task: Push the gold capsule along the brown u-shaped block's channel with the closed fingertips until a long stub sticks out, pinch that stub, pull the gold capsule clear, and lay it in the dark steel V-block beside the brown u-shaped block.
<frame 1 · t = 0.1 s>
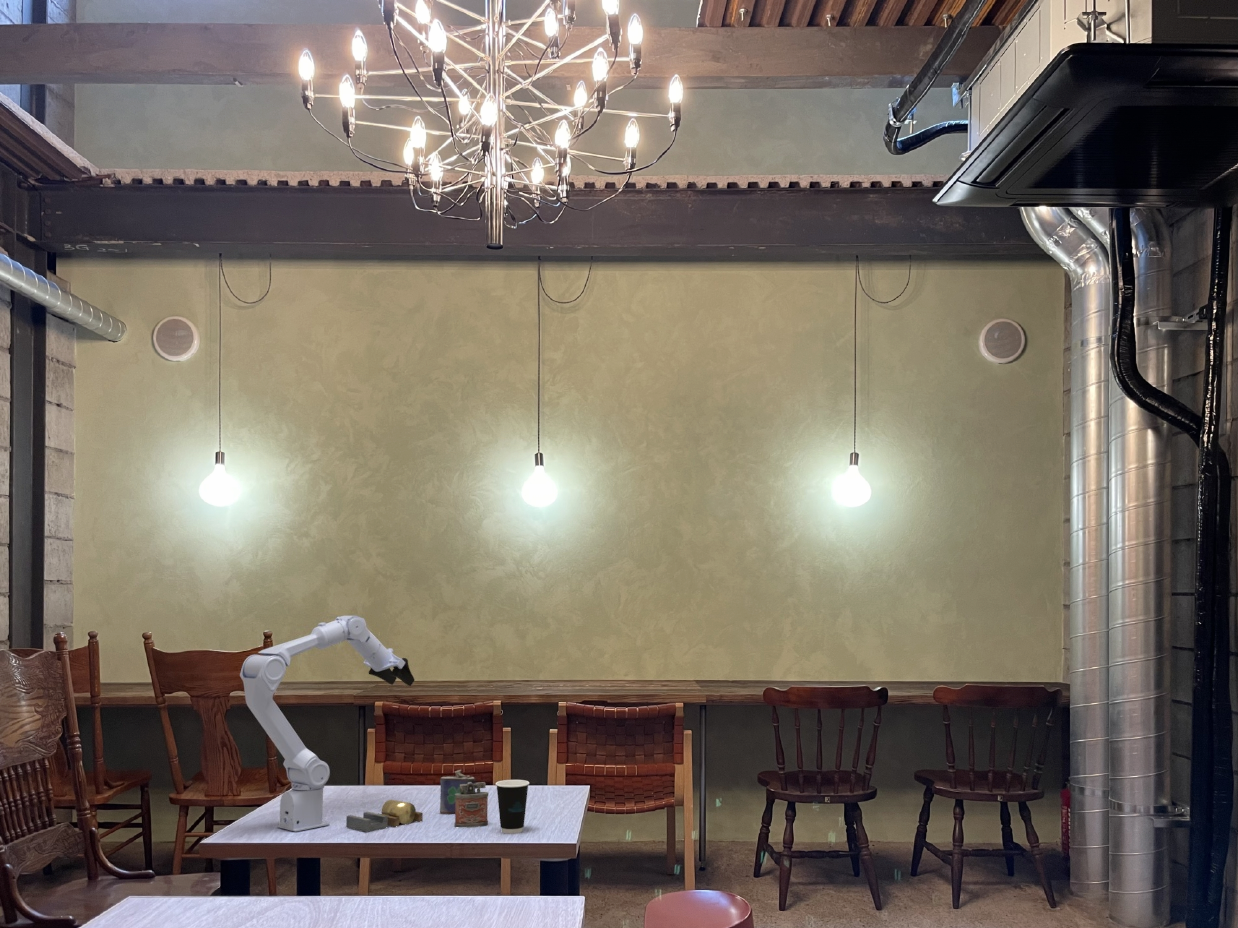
hand: (402, 682, 267), 32 cm above the table, tool tilted 50°, fingers open, 7 cm apart
flask: (457, 814, 254), on the table
dixie cup: (512, 831, 234), on the table
gold capsule: (398, 822, 245), on the table
lighter: (471, 826, 241), on the table
brown u-shaped block: (398, 821, 245), on the table
v block: (366, 827, 239), on the table
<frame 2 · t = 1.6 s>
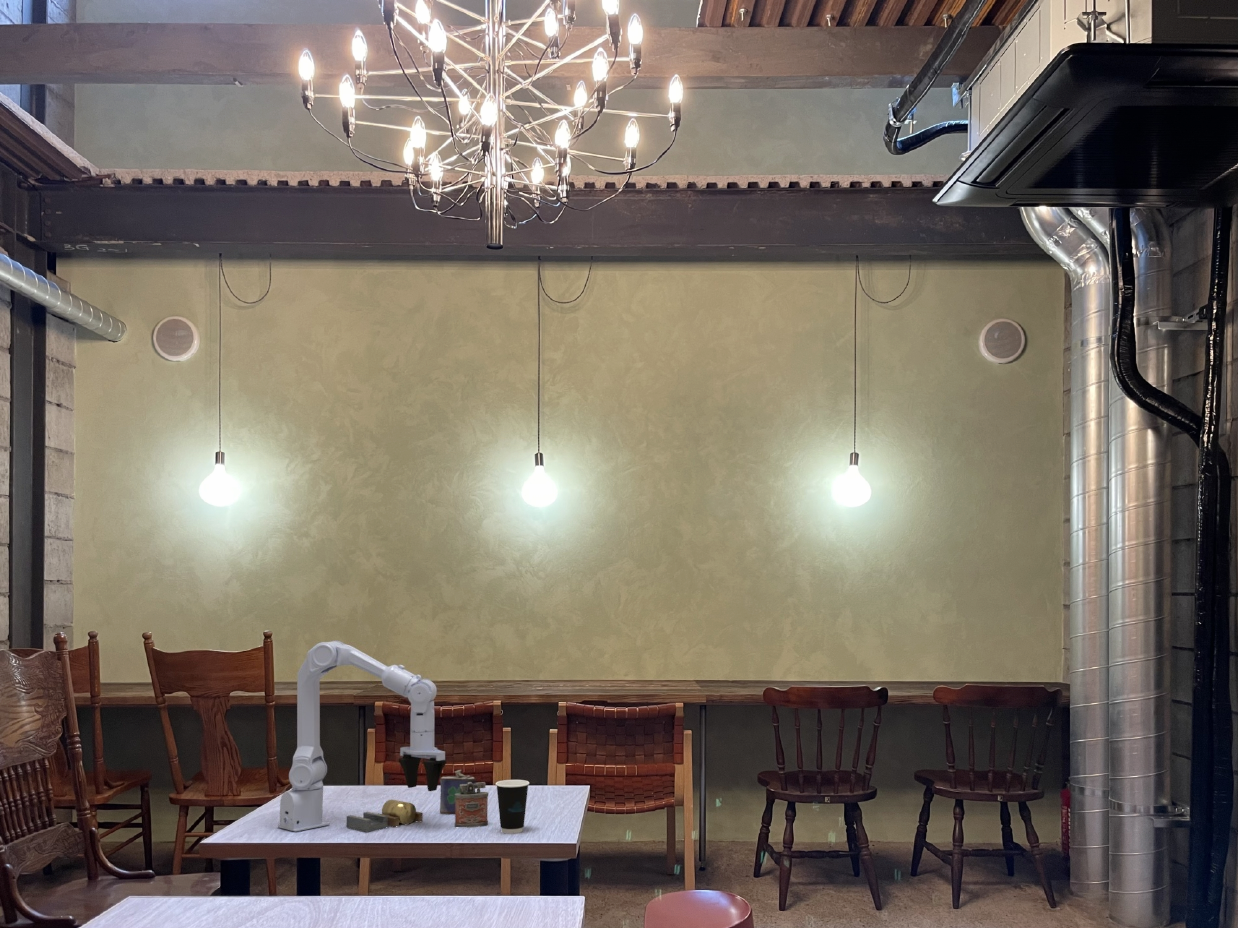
hand: (422, 788, 241), 9 cm above the table, tool pointing down, fingers open, 7 cm apart
nothing on the table moved.
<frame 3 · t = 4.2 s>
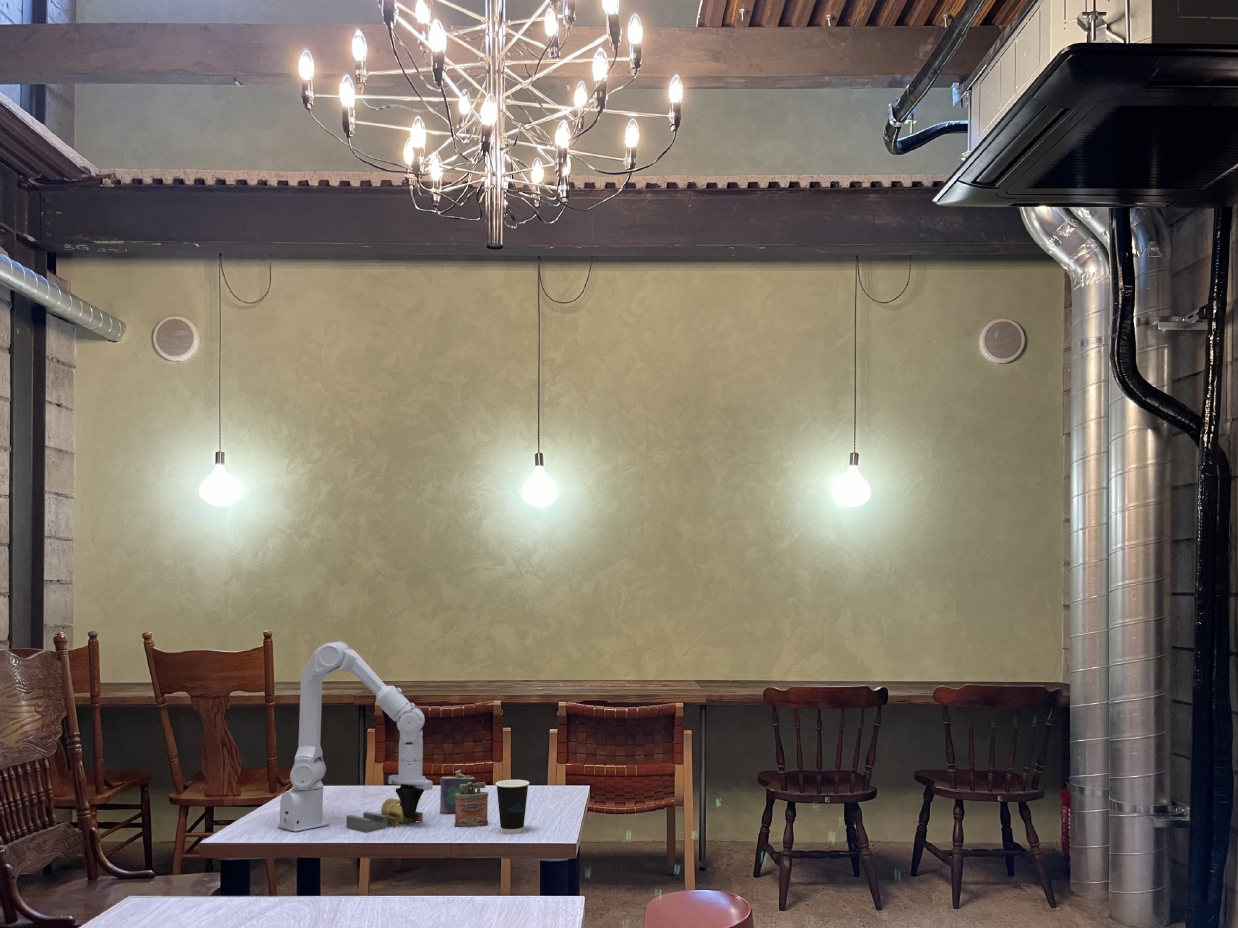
hand: (409, 817, 243), 2 cm above the table, tool pointing down, fingers closed
gold capsule: (396, 821, 246), on the table, tilted 12°, touching gripper
everything else where it was.
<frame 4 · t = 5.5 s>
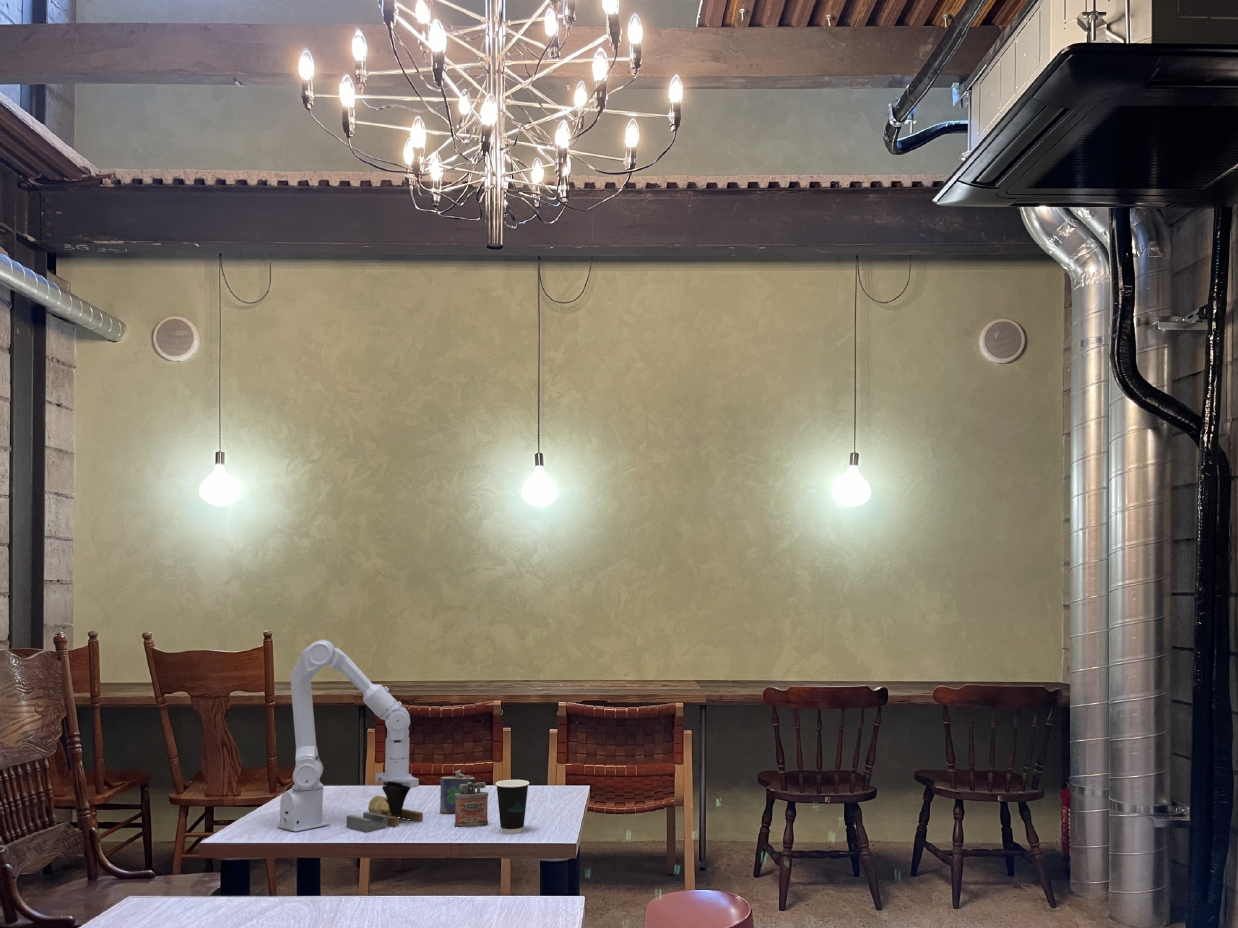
hand: (396, 814, 246), 2 cm above the table, tool pointing down, fingers closed
gold capsule: (383, 818, 249), on the table, tilted 12°, touching brown u-shaped block, gripper
everything else where it was.
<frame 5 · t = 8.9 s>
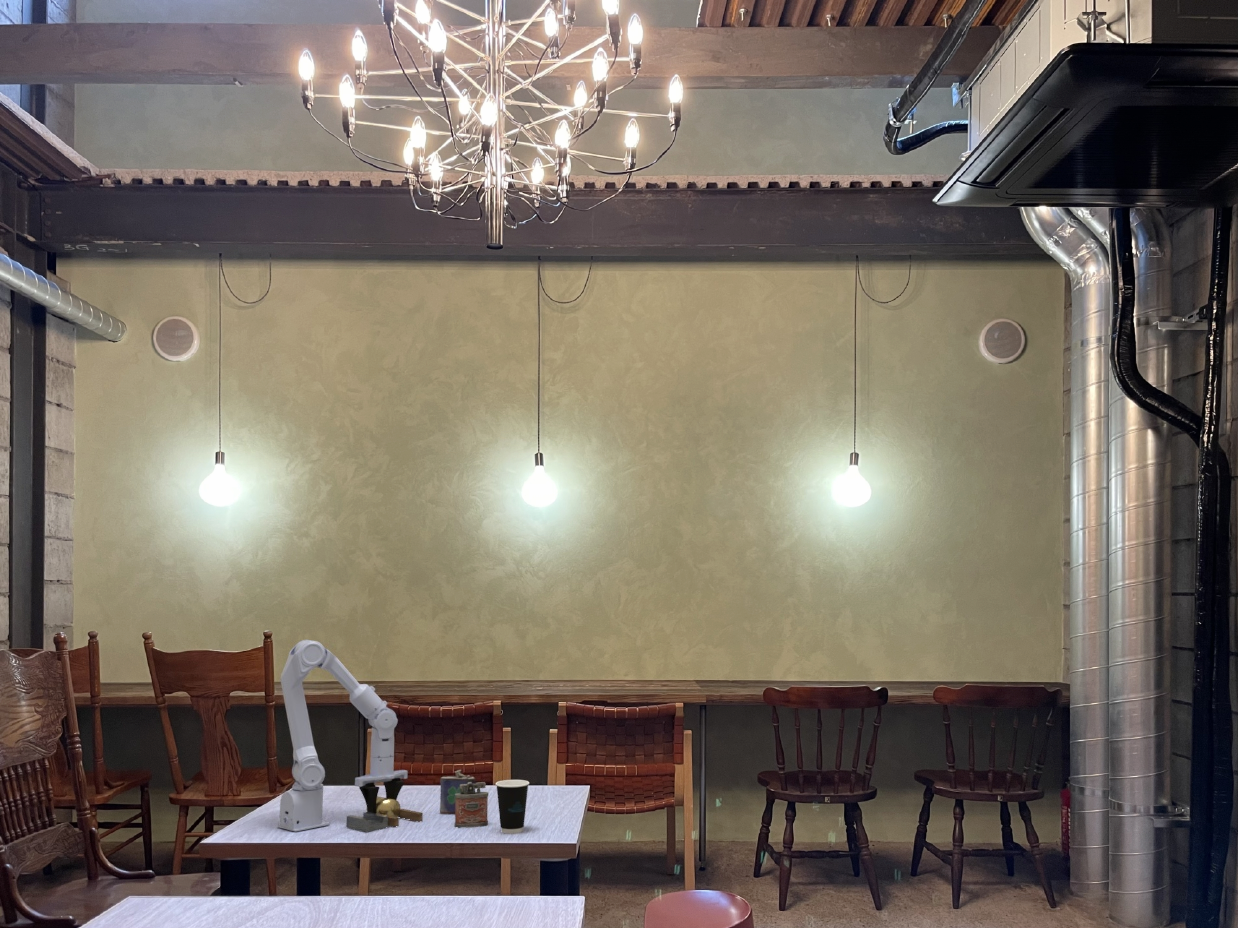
hand: (381, 812, 250), 1 cm above the table, tool pointing down, fingers closed on gold capsule, 5 cm apart
gold capsule: (383, 818, 249), on the table, touching gripper
everything else where it was.
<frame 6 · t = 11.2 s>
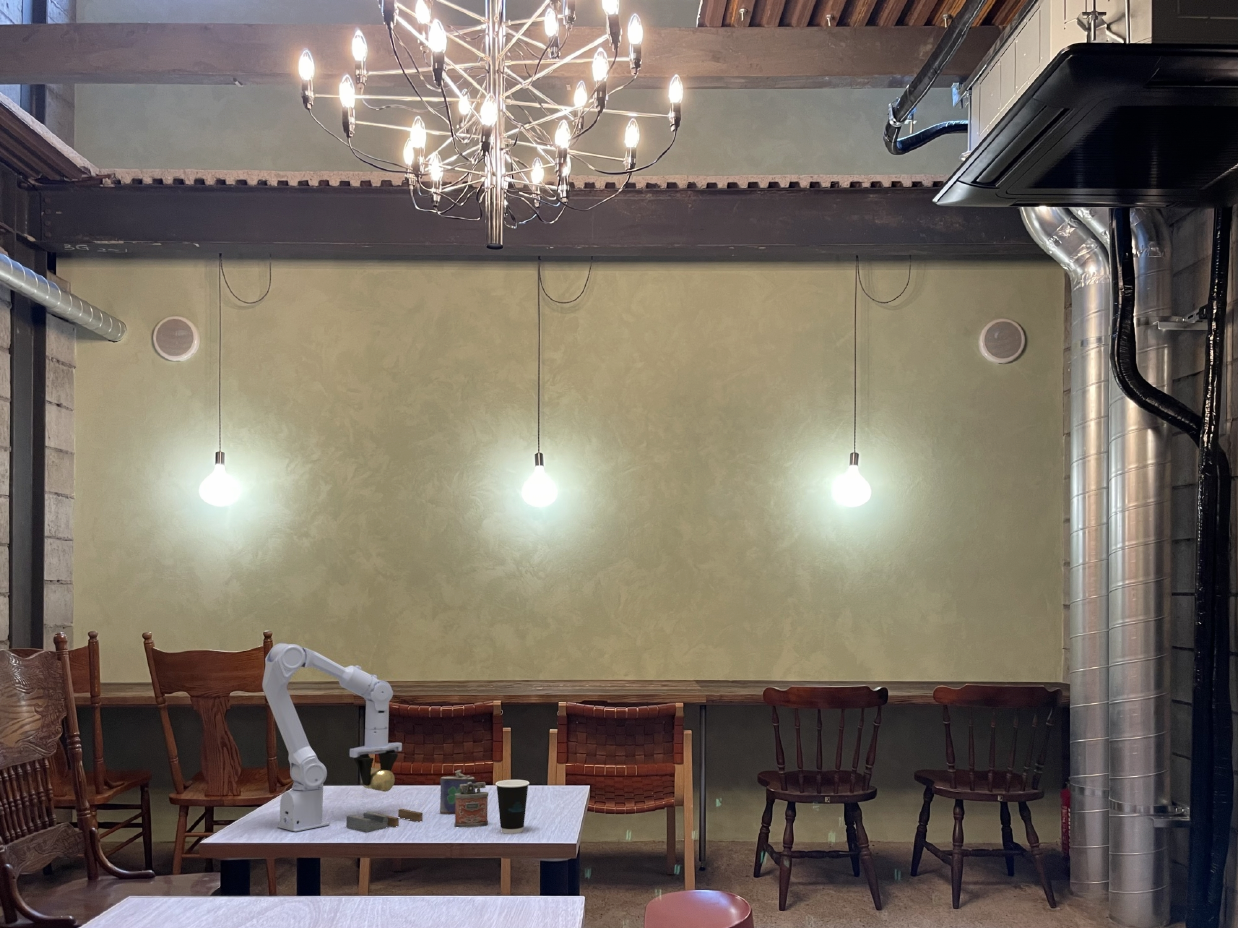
hand: (375, 783, 252), 8 cm above the table, tool pointing down, fingers closed on gold capsule, 5 cm apart
gold capsule: (377, 789, 251), point 7 cm above the table, touching gripper
everything else where it was.
when the fingers open (5 cm above the table, at t = 13.7 s): gold capsule drops 1 cm, resting on v block.
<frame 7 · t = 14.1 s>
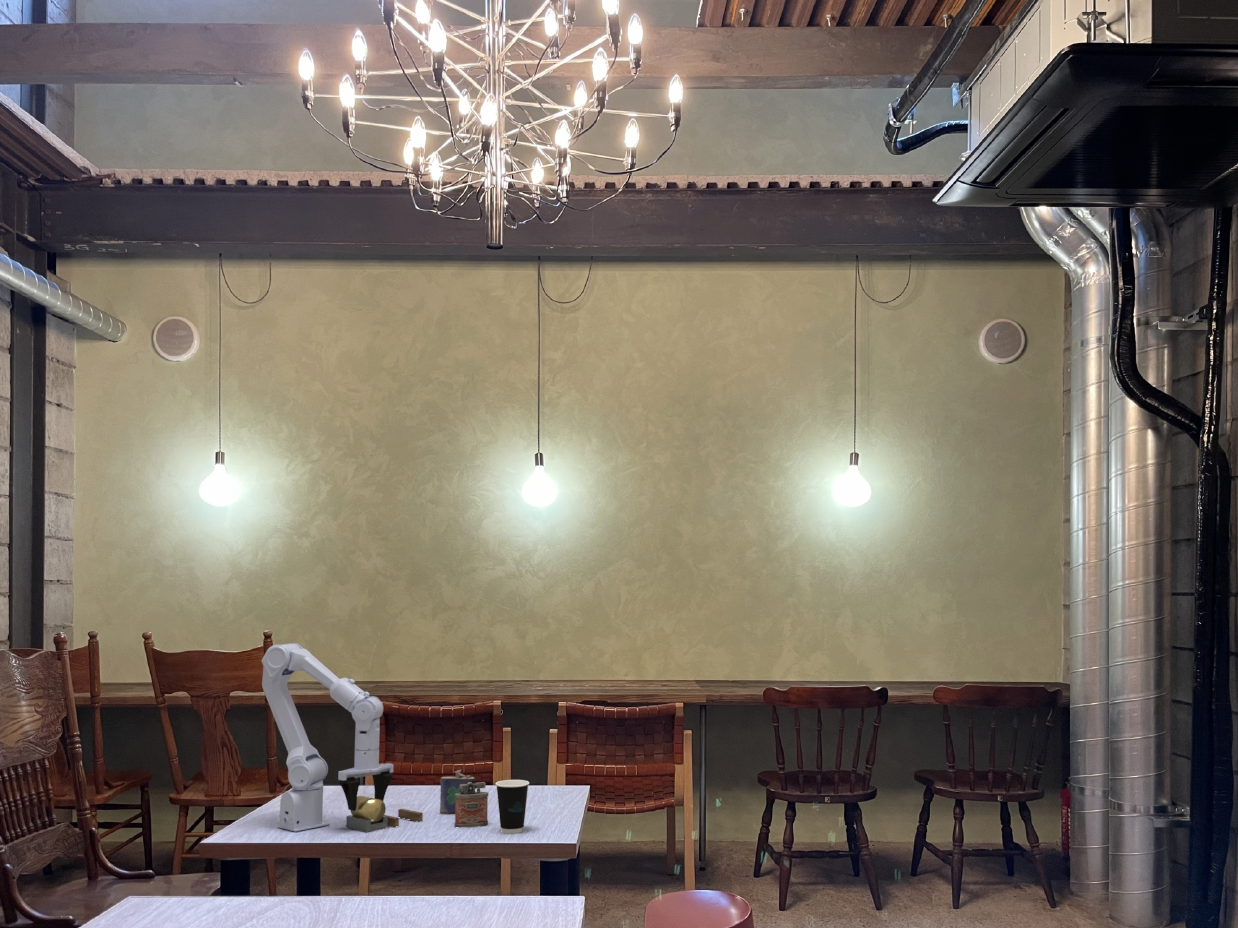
hand: (365, 807, 240), 5 cm above the table, tool pointing down, fingers open, 7 cm apart
gold capsule: (367, 819, 239), point 2 cm above the table, touching v block
everything else where it was.
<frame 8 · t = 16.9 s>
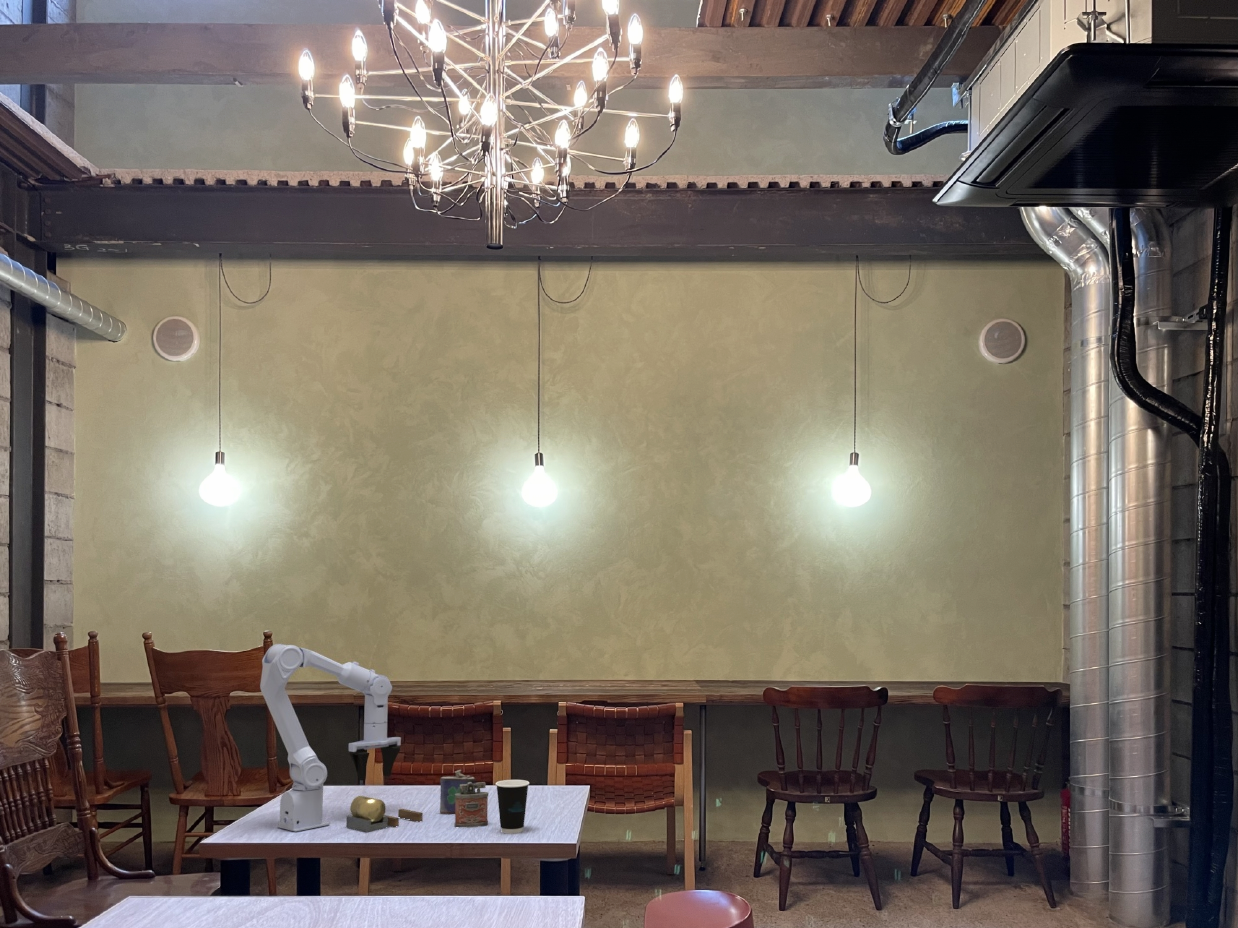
hand: (374, 777, 253), 9 cm above the table, tool pointing down, fingers open, 7 cm apart
nothing on the table moved.
at the end: gold capsule 0.3 cm off-centre on the v block, point 2.0 cm above the v block's base; gold capsule touching v block; the gripper is holding nothing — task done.
